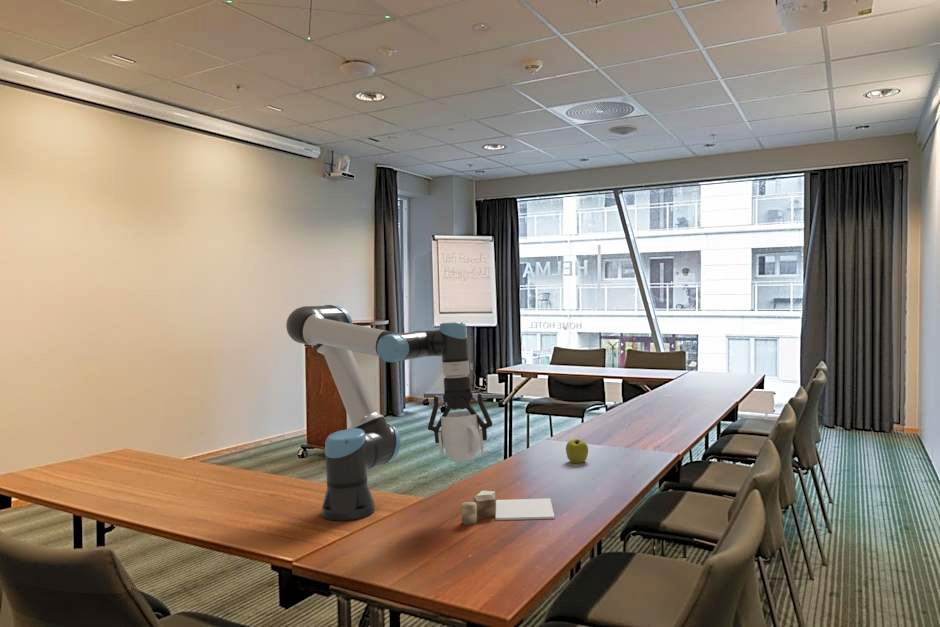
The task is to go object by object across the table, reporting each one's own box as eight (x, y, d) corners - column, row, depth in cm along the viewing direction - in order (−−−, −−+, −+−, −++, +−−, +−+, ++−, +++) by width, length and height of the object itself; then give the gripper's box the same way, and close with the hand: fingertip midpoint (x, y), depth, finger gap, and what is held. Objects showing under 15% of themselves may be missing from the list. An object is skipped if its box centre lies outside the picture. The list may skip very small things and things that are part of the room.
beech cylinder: (462, 525, 174) (461, 506, 173) (462, 520, 178) (462, 501, 177) (476, 524, 173) (476, 506, 173) (477, 519, 177) (476, 501, 177)
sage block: (475, 510, 186) (475, 496, 186) (482, 504, 191) (482, 490, 191) (489, 511, 184) (488, 497, 184) (495, 504, 190) (494, 491, 190)
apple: (569, 455, 241) (575, 430, 239) (588, 463, 236) (594, 438, 234) (559, 460, 234) (565, 434, 232) (578, 469, 230) (585, 443, 228)
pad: (495, 520, 176) (495, 517, 176) (496, 501, 192) (496, 499, 192) (554, 518, 175) (554, 516, 175) (550, 500, 191) (550, 498, 191)
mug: (497, 460, 180) (493, 413, 180) (463, 468, 174) (459, 420, 174) (468, 453, 192) (465, 409, 192) (436, 460, 186) (432, 415, 186)
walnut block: (478, 519, 178) (477, 501, 178) (474, 513, 183) (473, 496, 183) (495, 517, 179) (494, 499, 179) (491, 511, 184) (490, 494, 184)
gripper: (413, 380, 181) (419, 458, 181) (497, 374, 179) (502, 453, 179) (417, 377, 188) (423, 452, 188) (498, 372, 186) (503, 448, 187)
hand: (462, 453), depth 184 cm, fingers closed on mug, 11 cm apart
